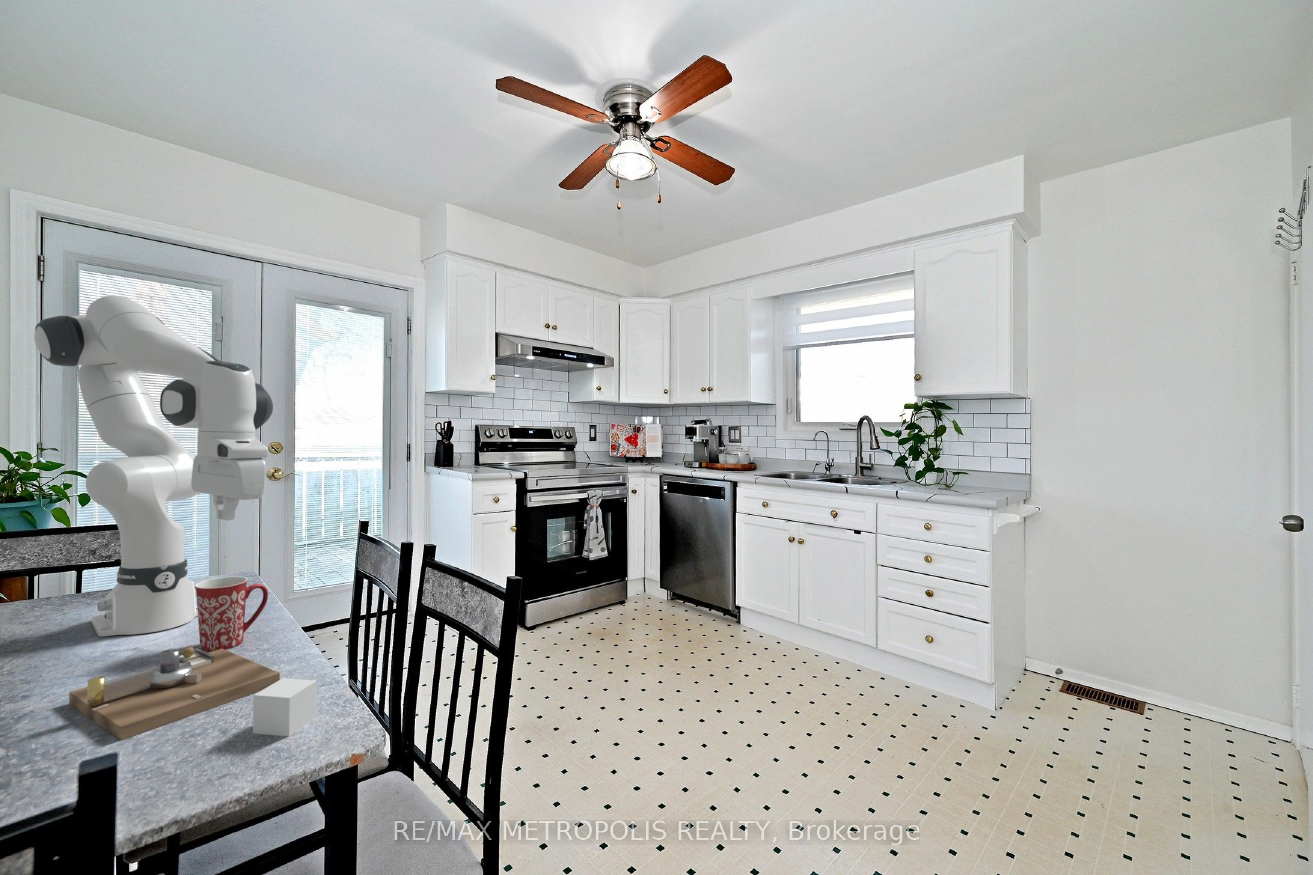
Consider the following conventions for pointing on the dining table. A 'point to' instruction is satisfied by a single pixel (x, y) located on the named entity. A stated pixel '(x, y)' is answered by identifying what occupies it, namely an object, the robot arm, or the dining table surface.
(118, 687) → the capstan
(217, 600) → the mug
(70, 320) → the robot arm
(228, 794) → the dining table surface
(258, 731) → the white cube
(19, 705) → the dining table surface
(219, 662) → the stand
